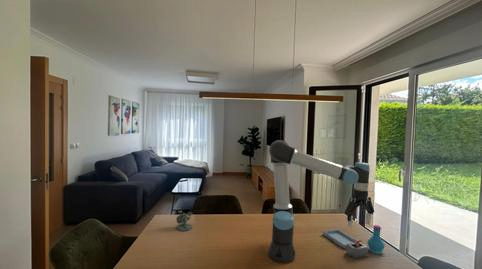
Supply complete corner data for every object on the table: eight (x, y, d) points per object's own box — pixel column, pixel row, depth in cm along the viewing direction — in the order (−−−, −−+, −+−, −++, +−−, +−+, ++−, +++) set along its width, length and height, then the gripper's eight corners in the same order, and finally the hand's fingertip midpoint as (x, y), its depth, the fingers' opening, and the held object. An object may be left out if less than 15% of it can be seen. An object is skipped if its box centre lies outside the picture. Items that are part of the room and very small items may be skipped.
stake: (356, 255, 140) (357, 241, 140) (353, 254, 142) (354, 239, 142) (361, 254, 142) (362, 240, 141) (358, 253, 143) (359, 238, 143)
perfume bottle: (384, 256, 141) (385, 231, 140) (366, 251, 146) (367, 226, 145) (384, 249, 149) (386, 225, 148) (367, 245, 154) (369, 222, 153)
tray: (344, 249, 147) (344, 245, 147) (322, 234, 166) (323, 231, 166) (360, 246, 152) (361, 242, 152) (337, 232, 171) (338, 229, 170)
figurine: (186, 232, 160) (187, 214, 160) (172, 229, 164) (173, 211, 164) (195, 226, 170) (195, 209, 169) (182, 223, 174) (182, 207, 173)
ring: (354, 258, 137) (354, 249, 137) (344, 251, 144) (344, 242, 144) (367, 256, 140) (368, 246, 140) (357, 249, 148) (357, 240, 147)
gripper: (349, 192, 132) (347, 230, 133) (382, 189, 141) (380, 225, 142) (339, 188, 139) (337, 225, 140) (371, 186, 148) (369, 220, 149)
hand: (358, 225), depth 141 cm, fingers open, 13 cm apart
